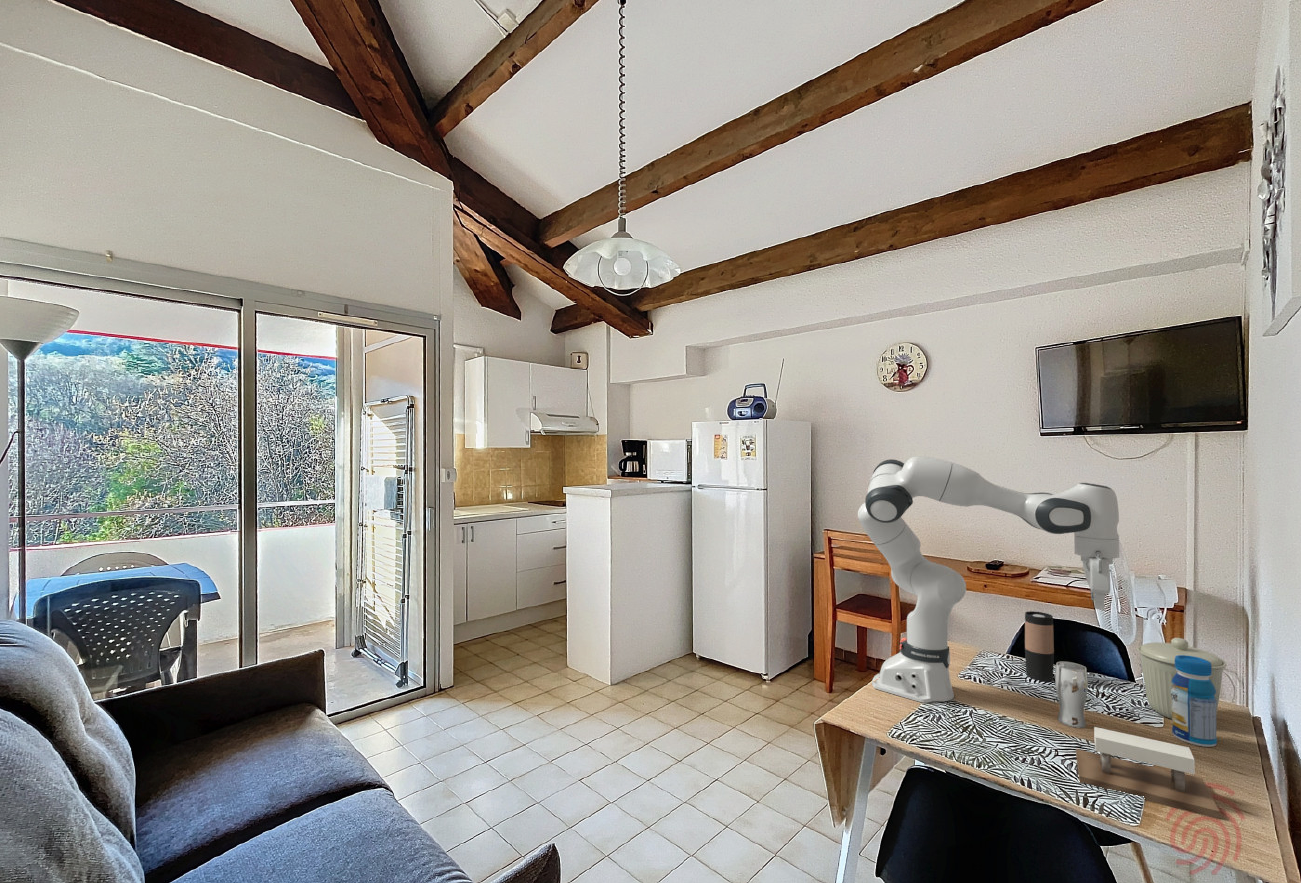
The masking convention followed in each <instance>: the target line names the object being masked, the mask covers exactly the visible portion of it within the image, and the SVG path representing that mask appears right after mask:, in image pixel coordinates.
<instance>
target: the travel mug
mask: <svg viewBox="0 0 1301 883" xmlns="http://www.w3.org/2000/svg"><path fill="white" fill-rule="evenodd" d="M1054 644H1055V642H1054V616H1053V615H1052V614H1049V613H1045V612H1043V611H1035V610H1034V611H1031V610H1030V611H1025V613H1024V653H1025V654H1024V655H1025V674H1026V676H1027V678H1029V677H1030V678H1029V679H1032V678H1033V679H1032V680H1034V679H1036V680H1035V681H1038V680H1039V682H1052V681H1054V657H1055V656H1054V655H1055V648H1054V647H1055V646H1054Z"/></svg>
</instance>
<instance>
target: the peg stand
mask: <svg viewBox="0 0 1301 883" xmlns="http://www.w3.org/2000/svg"><path fill="white" fill-rule="evenodd" d="M1075 757H1076V758H1077V759H1076V765H1078V766H1077V772H1078V781H1080V782H1079V784H1082V783H1086V784H1091V785H1094V786H1098V787H1102V788H1104V789H1103V790H1105V789H1112V790H1116V791H1121V792H1125V793H1129V794H1133V795H1138V796H1144V798H1145V799H1146V800H1145V801H1148V802H1151V803H1156V804H1160V805H1164V806H1168V807H1171V808H1174V809H1175V808H1176V809H1179V810H1181V811H1182V810H1183V811H1187V812H1191V813H1194V814H1198V815H1202V816H1205V817H1206V816H1207V817H1210V818H1214V819H1217V820H1220V819H1221V818H1220V817H1221V816H1220V815H1221V814H1220V810H1219V807H1218V806H1217V804H1216V802H1215V800H1214V798H1213V796H1212V793H1211V792H1210V790H1209V788H1208V786H1207V784H1206V783H1205V780H1204V778H1203V777H1200V776H1199V777H1198V776H1194V775H1192V774H1190V775H1189V774H1188V773H1186V772H1182V771H1178V770H1173V769H1170V770H1169V769H1166V768H1162V767H1158V766H1151V765H1149V764H1148V765H1146V764H1143V763H1139V762H1136V761H1135V762H1133V761H1130V760H1126V759H1122V758H1118V757H1113V756H1112V755H1110V754H1106V753H1102V752H1099V753H1096V752H1091V751H1087V750H1083V749H1080V748H1079V749H1078V748H1076V749H1075Z"/></svg>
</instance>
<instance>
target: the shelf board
mask: <svg viewBox="0 0 1301 883" xmlns="http://www.w3.org/2000/svg"><path fill="white" fill-rule="evenodd" d="M1093 728H1094V729H1093V731H1094V733H1093V734H1094V735H1093V736H1094V737H1093V739H1094V746H1095V748H1094V749H1095V752H1099V753H1100V752H1102V753H1106V754H1110V755H1111V756H1115V757H1120V758H1124V759H1128V760H1132V761H1135V762H1136V761H1137V762H1140V763H1145V764H1148V765H1149V764H1150V765H1154V766H1156V767H1160V768H1164V769H1168V770H1169V769H1170V770H1171V769H1173V770H1178V771H1182V772H1185V774H1190V775H1193V776H1194V775H1196V770H1195V769H1196V765H1195V757H1194V755H1193V753H1192V751H1191V749H1190V747H1188V746H1183V745H1179V744H1174V743H1170V742H1166V741H1160V740H1156V739H1151V738H1147V737H1142V736H1138V735H1133V734H1130V733H1124V732H1119V731H1115V730H1110V729H1106V728H1102V727H1101V728H1100V727H1096V726H1094V727H1093Z"/></svg>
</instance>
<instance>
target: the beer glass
mask: <svg viewBox="0 0 1301 883" xmlns="http://www.w3.org/2000/svg"><path fill="white" fill-rule="evenodd" d="M1054 673H1055V675H1054V676H1055V689H1056V692H1057V694H1056V695H1057V699H1058V704H1059V706H1058V708H1059V710H1058V716H1057V720H1058V722H1059V723H1061V724H1062V725H1063V726H1064V725H1065V726H1067V727H1070V728H1077V729H1082V728H1083V729H1084V728H1086V727H1087V722H1086V717H1085V707H1086V706H1085V705H1086V701H1087V695H1088V688H1089V687H1088V686H1089V683H1088V673H1087V667H1086V666H1084V665H1082V664H1079V663H1075V662H1072V661H1071V662H1070V661H1058V662H1056V664H1055V672H1054Z"/></svg>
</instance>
